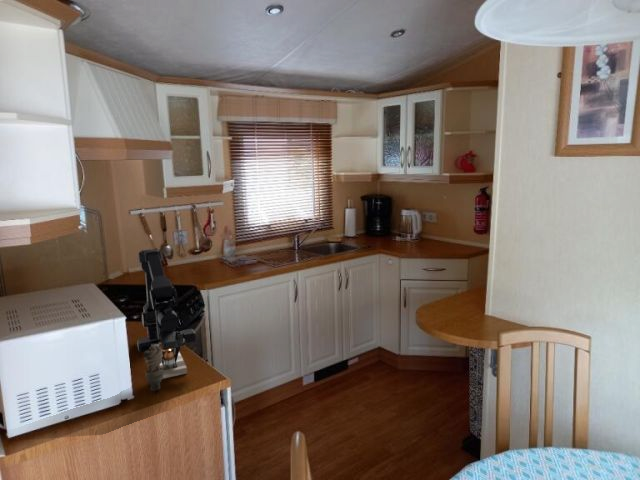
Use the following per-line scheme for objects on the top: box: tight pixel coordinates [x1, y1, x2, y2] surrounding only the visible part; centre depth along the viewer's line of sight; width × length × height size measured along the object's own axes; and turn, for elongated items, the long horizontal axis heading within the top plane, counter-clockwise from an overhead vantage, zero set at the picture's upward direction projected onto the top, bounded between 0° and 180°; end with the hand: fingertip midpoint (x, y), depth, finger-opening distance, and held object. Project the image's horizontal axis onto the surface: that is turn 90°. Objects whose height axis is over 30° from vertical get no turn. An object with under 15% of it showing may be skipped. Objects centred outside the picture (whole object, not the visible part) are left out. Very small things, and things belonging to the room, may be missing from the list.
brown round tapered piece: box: [162, 348, 176, 370], centre depth 156 cm, size 4×4×6 cm
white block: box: [160, 351, 188, 380], centre depth 159 cm, size 14×10×2 cm
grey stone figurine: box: [142, 346, 163, 392], centre depth 142 cm, size 6×6×15 cm
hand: (169, 363), depth 156 cm, fingers closed on brown round tapered piece, 4 cm apart
